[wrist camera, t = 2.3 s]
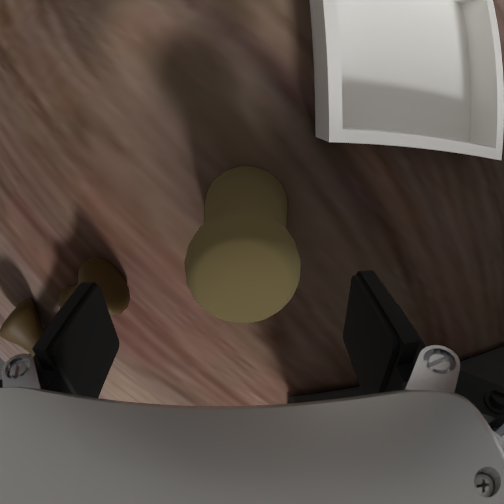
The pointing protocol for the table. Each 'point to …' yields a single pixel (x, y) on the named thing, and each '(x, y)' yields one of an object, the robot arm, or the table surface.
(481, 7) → the box
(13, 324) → the kendama
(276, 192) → the cork
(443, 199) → the table surface
